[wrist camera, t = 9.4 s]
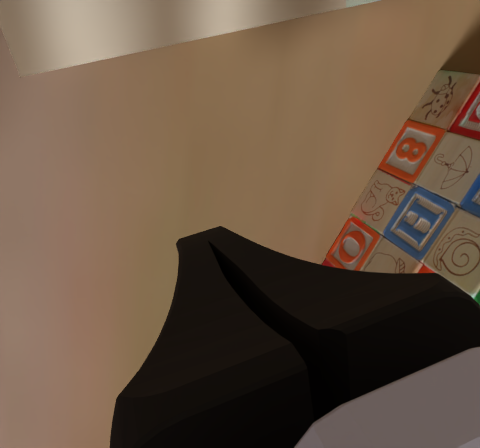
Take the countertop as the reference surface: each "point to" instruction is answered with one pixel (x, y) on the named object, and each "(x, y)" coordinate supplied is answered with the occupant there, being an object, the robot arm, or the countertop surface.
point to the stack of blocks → (424, 193)
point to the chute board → (131, 25)
